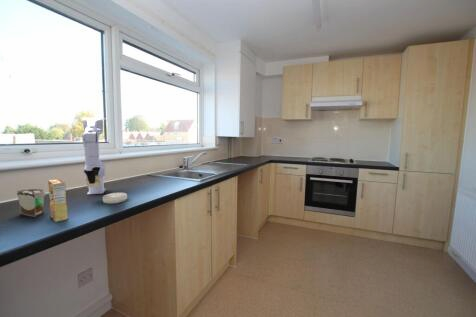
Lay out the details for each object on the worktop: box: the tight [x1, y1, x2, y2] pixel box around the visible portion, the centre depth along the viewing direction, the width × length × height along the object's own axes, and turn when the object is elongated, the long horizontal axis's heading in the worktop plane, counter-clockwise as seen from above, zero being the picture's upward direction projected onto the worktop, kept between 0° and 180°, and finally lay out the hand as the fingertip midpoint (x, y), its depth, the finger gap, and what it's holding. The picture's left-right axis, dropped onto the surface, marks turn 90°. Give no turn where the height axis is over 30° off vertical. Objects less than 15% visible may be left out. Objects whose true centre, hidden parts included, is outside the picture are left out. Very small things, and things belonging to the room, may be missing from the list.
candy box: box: [47, 178, 68, 223], centre depth 91 cm, size 9×4×15 cm, turn 50°
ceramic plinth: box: [102, 192, 128, 205], centre depth 115 cm, size 11×11×2 cm
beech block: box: [85, 175, 100, 188], centre depth 114 cm, size 5×5×5 cm
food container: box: [16, 188, 47, 218], centre depth 96 cm, size 12×6×10 cm, turn 71°
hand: (93, 182), depth 115 cm, fingers closed on beech block, 5 cm apart
